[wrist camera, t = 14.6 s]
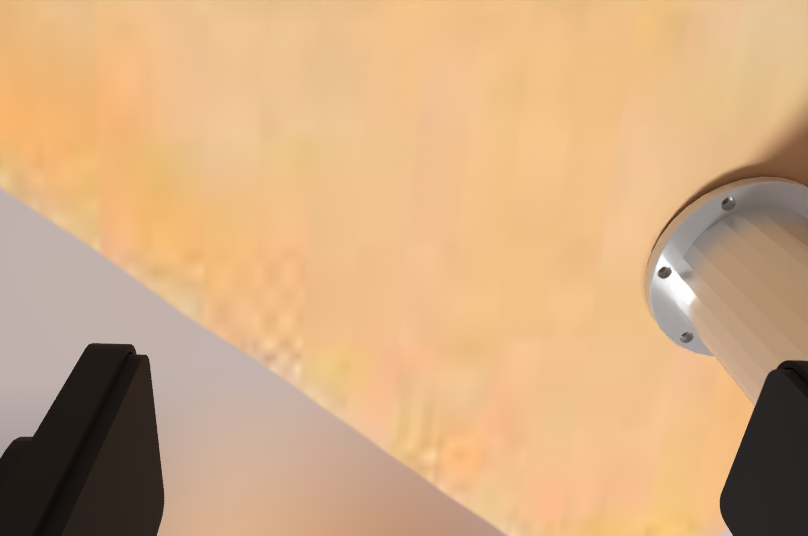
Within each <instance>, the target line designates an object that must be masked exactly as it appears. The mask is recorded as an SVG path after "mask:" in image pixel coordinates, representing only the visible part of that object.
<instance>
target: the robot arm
mask: <svg viewBox="0 0 808 536" xmlns="http://www.w3.org/2000/svg"><path fill="white" fill-rule="evenodd" d="M644 287H645V296H646V302H647V305H648V308H649V311H650V313H651V316H652V317H653V319H654V320H655V322H656V323H657V325H658V326H659V328H660V329H661V330H662V331H663V332H664V333H665V335H666V336H667V337H668V338H669V339H670V340H671V341H673V342H674V343H675V344H677V345H678V346H680V347H682V348H684V349H687V350H689V351H691V352H694V353H697V354H702V355H707V356H714V357H715V358H716V359H717V360H718V362H719V363H720V364H721V365H722V367H723V368H724V369H725V370H726V372H727V373H728V374H729V375H730V377H731V378H732V379H733V380H734V382H735V383H736V384H737V385H738V386H739V388H740V389H741V390H742V391H743V393H744V394H745V395H746V396H747V398H748V399H749V400H750V401H751V403H752V404H753V405H754V406H755V408H754V410H753V413H752V416H751V418H750V421H749V423H748V426H747V429H746V431H745V434H744V436H743V439H742V442H741V444H740V447H739V449H738V452H737V454H736V457H735V460H734V462H733V465H732V467H731V470H730V473H729V475H728V478H727V480H726V483H725V486H724V488H723V491H722V493H721V497H720V511H721V514H722V517H723V519H724V521H725V523H726V525H727V526H728V528H729V530H730V531H731V533H732V534H733V536H808V187H807V186H805V185H803V184H801V183H800V182H797V181H793V180H789V179H785V178H782V177H763V176H762V177H755V178H747V179H742V180H738V181H735V182H732V183H729V184H726V185H723V186H721V187H719V188H717V189H715V190H713V191H710V192H708V193H706V194H704V195H703V196H702V197H700V198H699V199H697V200H696V201H694V202H693V203H692V204H690V205H689V206H687V207H686V208H685V209H684V210H683V211H682V212H681V213H680V214H679V215H678V216H677V217H676V218H675V219H674V220H672V222H671V223H670V224H669V226H668V227H667V228H666V230H665V231H664V232H663V233H662V235H661V236H660V238H659V240H658V242H657V244H656V245H655V247H654V249H653V251H652V253H651V256H650V259H649V262H648V266H647V269H646V276H645V285H644ZM163 508H164V488H163V479H162V470H161V461H160V452H159V443H158V434H157V425H156V416H155V407H154V398H153V389H152V380H151V371H150V363H149V358H148V356H147V355H136V350H135V348H134V346H133V345H131V344H99V343H92V344H89V345H88V346H87V347H86V349H85V350H84V352H83V354H82V355H81V357H80V359H79V361H78V362H77V364H76V365H75V367H74V369H73V370H72V372H71V374H70V376H69V377H68V379H67V381H66V382H65V384H64V386H63V387H62V389H61V391H60V392H59V394H58V396H57V397H56V399H55V401H54V402H53V404H52V406H51V407H50V409H49V411H48V413H47V414H46V416H45V418H44V419H43V421H42V423H41V424H40V426H39V428H38V430H37V431H36V433H35V434H34V436H33V437H19V438H17V439H15V440H13V442H12V443H11V444H10V445H9V447H8V448H7V449H6V450H5V452H4V454H3V455H2V457H1V458H0V536H157V533H158V529H159V526H160V522H161V519H162V515H163Z"/></svg>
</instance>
